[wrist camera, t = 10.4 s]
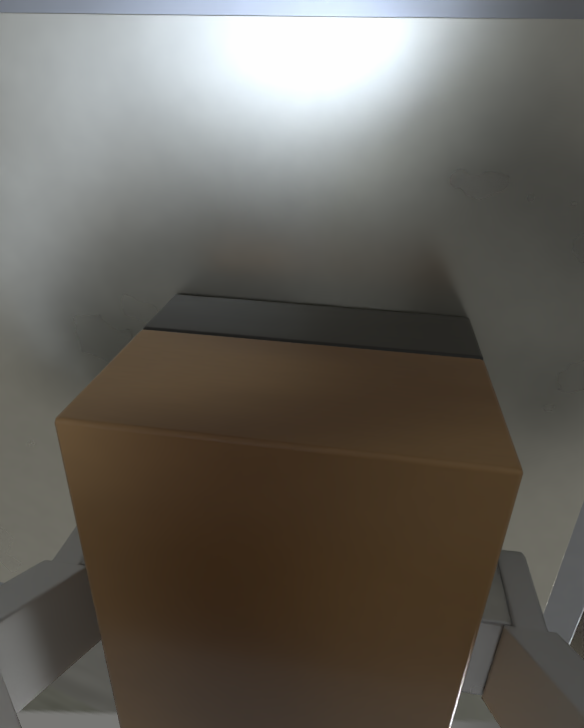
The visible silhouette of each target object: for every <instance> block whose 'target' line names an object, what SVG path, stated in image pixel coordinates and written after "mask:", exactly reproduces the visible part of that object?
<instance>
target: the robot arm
mask: <svg viewBox="0 0 584 728" xmlns="http://www.w3.org/2000/svg"><path fill="white" fill-rule="evenodd" d="M100 640H101V636H100V631H99V626H98V622H97V617H96V613H95V608H94V603H93V599H92V594H91V590H90V585H89V580H88V576H87V571H86V566H85V562H84V557H83V553H82V548H81V543H80V539H79V534H78V529H77V526H76V527H75V529H74V530H73V531H72V533H71V534H70V536H69V537H68V539H67V540H66V541H65V543H64V544H63V546H62V547H61V549H60V550H59V552H58V553H57V554H56V556H55V557H54V559H53V560H52V561H50V560H44V561H42V562H40V563H38V564H37V565H35V566H33V567H31V568H30V569H28V570H26V571H24V572H23V573H21V574H19V575H17V576H16V577H14V578H12V579H11V580H9V581H7V582H5V583H4V584H2V585H0V728H22V727H21V725H20V722H19V719H18V717H17V713H18V712H19V711H20V710H21V709H23V708H24V707H25V706H26V705H27V704H28V703H29V702H31V701H32V700H33V699H34V698H35V697H36V696H37V695H39V694H40V693H41V692H42V691H43V690H44V689H45V688H47V687H48V686H49V685H50V684H51V683H52V682H53V681H55V680H56V679H57V678H58V677H59V676H60V675H61V674H63V673H64V672H65V671H66V670H67V669H68V668H69V667H71V666H72V665H73V664H74V663H75V662H76V661H77V660H79V659H80V658H81V657H82V656H83V655H84V654H85V653H87V652H88V651H89V650H90V649H91V648H92V647H93V646H95V645H96V644H97V643H98V642H99V641H100ZM461 692H466V693H472V694H477V695H482V699H483V701H484V702H485V704H486V706H487V707H488V709H489V710H490V712H491V713H492V715H493V716H494V718H495V720H496V721H497V723H498V724H499V726H500V727H501V728H584V660H583V659H582V658H581V657H580V656H579V655H578V654H577V652H576V651H575V650H574V649H573V648H572V647H571V646H570V645H569V644H568V643H567V642H566V641H565V640H564V639H563V638H562V637H561V636H560V635H559V634H558V633H555V632H549V631H548V629H547V626H546V623H545V619H544V616H543V613H542V610H541V606H540V603H539V600H538V596H537V593H536V590H535V587H534V583H533V580H532V577H531V573H530V570H529V567H528V564H527V560H526V557H525V556H524V554H523V553H522V552H518V551H509V550H501V553H500V557H499V560H498V564H497V567H496V571H495V574H494V578H493V581H492V585H491V588H490V592H489V595H488V599H487V602H486V606H485V609H484V613H483V616H482V620H481V623H480V627H479V630H478V634H477V638H476V641H475V645H474V648H473V652H472V655H471V659H470V662H469V666H468V669H467V673H466V676H465V680H464V683H463V687H462V690H461Z"/></svg>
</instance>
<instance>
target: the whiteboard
mask: <svg viewBox="0 0 584 728" xmlns="http://www.w3.org/2000/svg"><path fill="white" fill-rule="evenodd" d="M177 294H178V295H191V296H203V297H216V298H229V299H241V300H254V301H266V302H279V303H292V304H304V305H317V306H330V307H342V308H355V309H368V310H380V311H393V312H405V313H418V314H431V315H443V316H456V317H467V318H469V319H470V322H471V325H472V327H473V330H474V333H475V336H476V339H477V342H478V344H479V347H480V350H481V353H482V356H483V359H484V360H483V361H484V362H485V365H486V368H487V371H488V373H489V376H490V379H491V382H492V385H493V388H494V390H495V393H496V396H497V399H498V402H499V404H500V407H501V410H502V413H503V416H504V419H505V421H506V424H507V427H508V430H509V433H510V436H511V438H512V441H513V444H514V447H515V450H516V453H517V455H518V458H519V461H520V464H521V467H522V470H523V476H522V479H521V483H520V486H519V490H518V493H517V497H516V500H515V504H514V508H513V511H512V515H511V518H510V522H509V525H508V529H507V532H506V536H505V539H504V543H503V546H502V550H509V551H518V552H522V553H523V554H524V556H525V557H526V560H527V564H528V567H529V570H530V573H531V577H532V580H533V583H534V587H535V590H536V593H537V596H538V600H539V603H540V606H541V610H542V613H543V616H544V619H545V623H546V626H547V629H548V631H549V632H555V633H558V634H559V635H560V636H561V637H562V638H563V639H564V640H565V641H566V642H567V643H568V644H569V645H570V643H571V641H572V638H573V636H574V633H575V631H576V628H577V626H578V624H579V621H580V619H581V616H582V614H583V611H584V0H0V585H2V584H4V583H5V582H7V581H9V580H11V579H12V578H14V577H16V576H17V575H19V574H21V573H23V572H24V571H26V570H28V569H30V568H31V567H33V566H35V565H37V564H38V563H40V562H42V561H44V560H50V561H52V560H53V559H54V557H55V556H56V554H57V553H58V552H59V550H60V549H61V547H62V546H63V544H64V543H65V541H66V540H67V539H68V537H69V536H70V534H71V533H72V531H73V530H74V529H75V527H76V526H77V525H76V520H75V516H74V511H73V506H72V502H71V497H70V493H69V488H68V483H67V479H66V474H65V469H64V465H63V460H62V456H61V451H60V446H59V442H58V437H57V433H56V428H55V419H56V417H57V416H58V415H59V414H60V413H61V412H62V411H63V410H64V409H65V408H66V407H67V406H68V405H69V404H70V403H71V402H72V400H73V399H74V398H75V397H76V396H77V395H78V394H79V393H80V392H81V391H82V390H83V389H84V388H85V387H86V386H87V385H88V384H89V383H90V382H91V381H92V380H93V379H94V378H95V377H96V376H97V375H98V374H99V373H100V372H101V371H102V370H103V369H104V368H105V367H106V365H107V364H108V363H109V362H110V361H111V360H112V359H113V358H114V357H115V356H116V355H117V354H118V353H119V352H120V351H121V350H122V349H123V348H124V347H125V346H126V345H127V344H128V343H129V342H130V341H131V340H132V339H133V338H134V337H135V336H136V335H137V334H138V333H139V332H140V331H141V330H143V327H144V326H145V325H146V324H147V323H148V322H149V321H150V320H151V319H152V318H153V317H154V316H155V315H156V314H157V313H158V312H159V311H160V310H161V309H162V308H163V307H164V306H165V304H166V303H167V302H168V301H169V300H170V299H171V298H172V297H173V296H174V295H177Z"/></svg>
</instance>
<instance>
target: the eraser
mask: <svg viewBox="0 0 584 728" xmlns="http://www.w3.org/2000/svg"><path fill="white" fill-rule="evenodd" d="M483 360H484V359H483V356H482V353H481V350H480V347H479V344H478V342H477V339H476V336H475V333H474V330H473V327H472V325H471V322H470V319H469V318H467V317H456V316H443V315H431V314H418V313H405V312H393V311H380V310H368V309H355V308H342V307H330V306H317V305H304V304H292V303H279V302H266V301H254V300H241V299H229V298H216V297H203V296H191V295H178V294H177V295H174V296H173V297H172V298H171V299H170V300H169V301H168V302H167V303H166V304H165V306H164V307H163V308H162V309H161V310H160V311H159V312H158V313H157V314H156V315H155V316H154V317H153V318H152V319H151V320H150V321H149V322H148V323H147V324H146V325H145V326H144V327H143V330H141V331H140V332H139V333H138V334H137V335H136V336H135V337H134V338H133V339H132V340H131V341H130V342H129V343H128V344H127V345H126V346H125V347H124V348H123V349H122V350H121V351H120V352H119V353H118V354H117V355H116V356H115V357H114V358H113V359H112V360H111V361H110V362H109V363H108V364H107V365H106V367H105V368H104V369H103V370H102V371H101V372H100V373H99V374H98V375H97V376H96V377H95V378H94V379H93V380H92V381H91V382H90V383H89V384H88V385H87V386H86V387H85V388H84V389H83V390H82V391H81V392H80V393H79V394H78V395H77V396H76V397H75V398H74V399H73V400H72V402H71V403H70V404H69V405H68V406H67V407H66V408H65V409H64V410H63V411H62V412H61V413H60V414H59V415H58V416H57V417H56V419H55V428H56V433H57V437H58V442H59V446H60V451H61V456H62V460H63V465H64V469H65V474H66V479H67V483H68V488H69V493H70V497H71V502H72V506H73V511H74V516H75V520H76V525H77V529H78V534H79V539H80V543H81V548H82V553H83V557H84V562H85V566H86V571H87V576H88V580H89V585H90V590H91V594H92V599H93V603H94V608H95V613H96V617H97V622H98V626H99V631H100V636H101V640H102V645H103V650H104V654H105V659H106V663H107V668H108V673H109V677H110V682H111V686H112V691H113V696H114V700H115V705H116V710H117V714H118V719H119V723H120V727H121V728H451V725H452V722H453V718H454V715H455V711H456V708H457V704H458V701H459V697H460V694H461V690H462V687H463V683H464V680H465V676H466V673H467V669H468V666H469V662H470V659H471V655H472V652H473V648H474V645H475V641H476V638H477V634H478V630H479V627H480V623H481V620H482V616H483V613H484V609H485V606H486V602H487V599H488V595H489V592H490V588H491V585H492V581H493V578H494V574H495V571H496V567H497V564H498V560H499V557H500V553H501V550H502V546H503V543H504V539H505V536H506V532H507V529H508V525H509V522H510V518H511V515H512V511H513V508H514V504H515V500H516V497H517V493H518V490H519V486H520V483H521V479H522V476H523V470H522V467H521V464H520V461H519V458H518V455H517V453H516V450H515V447H514V444H513V441H512V438H511V436H510V433H509V430H508V427H507V424H506V421H505V419H504V416H503V413H502V410H501V407H500V404H499V402H498V399H497V396H496V393H495V390H494V388H493V385H492V382H491V379H490V376H489V373H488V371H487V368H486V365H485V362H484V361H483Z"/></svg>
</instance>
